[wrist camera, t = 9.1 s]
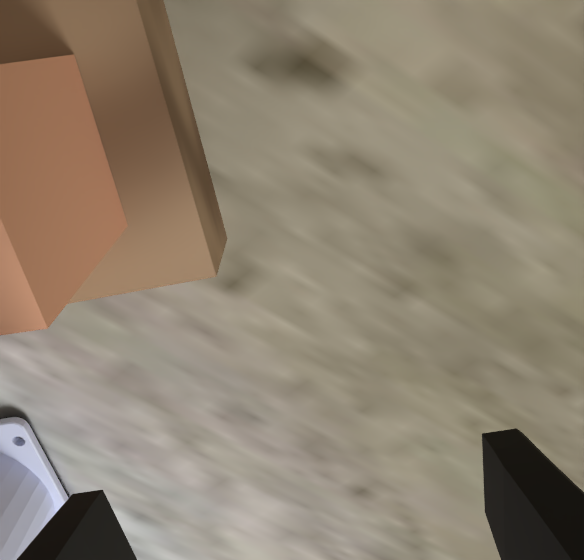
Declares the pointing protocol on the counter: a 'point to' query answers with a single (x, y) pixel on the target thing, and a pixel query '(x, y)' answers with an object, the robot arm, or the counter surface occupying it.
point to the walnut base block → (132, 134)
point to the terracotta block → (50, 192)
